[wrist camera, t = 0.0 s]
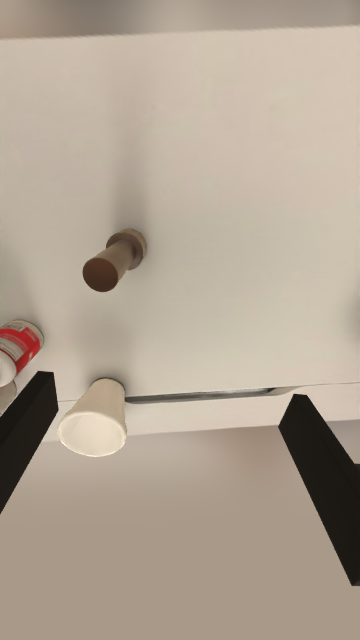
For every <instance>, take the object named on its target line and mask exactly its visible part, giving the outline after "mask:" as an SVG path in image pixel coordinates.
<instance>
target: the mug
mask: <svg viewBox="0 0 360 640" xmlns="http://www.w3.org/2000/svg"><path fill="white" fill-rule="evenodd" d="M15 394H16V387H15V384H14V382H13V381H11V382H10V383H8V384H7V385H4V386H2V387H0V414H1V412H2V411H3V410H4V409H5V408H6V407H7V405H8V404H9V403H10V402H11V401H12V400H13V398H14V397H15Z"/></svg>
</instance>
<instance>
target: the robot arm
mask: <svg viewBox="0 0 360 640" xmlns="http://www.w3.org/2000/svg"><path fill="white" fill-rule="evenodd" d="M58 410H59V409H58V402H57V395H56V387H55V380H54V373H53V372H45V371H38V372H37V373H36V374H35V375H34V377H33V378H32V379H31V380H30V381H29V383H28V384H27V385H26V386H25V388H24V389H23V390H22V391H21V393H20V394H19V395H18V396H17V397H16V399H15V400H14V401H13V402H12V404H11V405H10V406H9V407H8V408H7V410H6V411H5V412H4V413H3V415H2V416H1V417H0V514H1V512H2V510H3V509H4V507H5V505H6V503H7V501H8V500H9V498H10V496H11V494H12V492H13V491H14V489H15V487H16V485H17V483H18V482H19V480H20V478H21V476H22V475H23V473H24V471H25V469H26V467H27V465H28V464H29V462H30V460H31V459H32V456H33V455H34V453H35V451H36V450H37V448H38V446H39V444H40V443H41V441H42V439H43V437H44V435H45V434H46V432H47V430H48V428H49V426H50V425H51V423H52V421H53V419H54V418H55V416H56V414H57V412H58ZM278 428H279V430H280V432H281V434H282V436H283V439H284V441H285V443H286V445H287V447H288V449H289V452H290V454H291V456H292V458H293V460H294V462H295V464H296V467H297V468H298V471H299V473H300V475H301V477H302V479H303V482H304V484H305V486H306V488H307V490H308V493H309V495H310V497H311V499H312V501H313V503H314V505H315V507H316V510H317V512H318V514H319V516H320V518H321V521H322V523H323V525H324V527H325V529H326V531H327V533H328V535H329V538H330V540H331V542H332V544H333V546H334V549H335V551H336V553H337V555H338V557H339V559H340V561H341V564H342V566H343V568H344V570H345V572H346V574H347V577H348V579H349V581H350V583H351V585H352V586H360V464H354V463H353V461H352V460H351V458H350V457H349V455H348V454H347V453H346V451H345V450H344V448H343V447H342V445H341V444H340V442H339V441H338V439H337V438H336V437H335V435H334V434H333V432H332V431H331V429H330V428H329V427H328V425H327V424H326V422H325V421H324V419H323V418H322V416H321V415H320V413H319V412H318V411H317V409H316V408H315V406H314V405H313V403H312V402H311V400H310V399H309V398H308V396H307V395H302V394H294V395H293V397H292V399H291V401H290V403H289V405H288V407H287V409H286V411H285V414H284V416H283V418H282V420H281V422H280V424H279V426H278Z"/></svg>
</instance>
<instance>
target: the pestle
mask: <svg viewBox="0 0 360 640" xmlns="http://www.w3.org/2000/svg"><path fill="white" fill-rule="evenodd" d="M146 251H147V245H146V241H145V239H144V237H143V236H142V235H141V234H140V233H139V232H137V231H135V230H132V229H125V230H122V231H120V232H118V233H116V234H114V235H113V236H111V237H110V239H109V240H108V242H107V244H106V249H105V250H104V251H102V252H101V253H99V254H98V255H96V256H95V257H93V258H92V259H90V260H89V261H87V262H86V264H85V265H84V267H83V278H84V280H85V282H86V283H87V285H88V286H89V287H90V288H92V289H93V290H96V291H99V292H107V291H110V290H112V289H113V288H114V287H115V286H116V285H117V283H118V282H119V281H120V279H121V278H122V276H123V275H124V274H125V272H126V271H127V270H132V269H134V268H136V267H137V266H138V265H139V264H140V263H141V261H142V260H143V258H144V256H145V254H146Z"/></svg>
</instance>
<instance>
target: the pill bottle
mask: <svg viewBox="0 0 360 640" xmlns="http://www.w3.org/2000/svg"><path fill="white" fill-rule="evenodd" d="M42 346H43V336H42V334H41V332H40V331H39V330H38V329H37V328H36V327H35V326H34V325H32V324H31V323H28V322H26V321H20V320H16V321H11V322H9V323H7V324H5V325H4V326H2V327H1V328H0V387H2V386H4V385H7V384H8V383H10V382H11V381H12V380H13V379H14V378H15V377H16V376H17V375H18V373H19V372H20V371H21V370H22V369H23V368H24V367H25V366H26V365H27V364H28V362H29V361H30V360H31V359H32V358H33V357H34V356H35V355H36V354H37V353H38V352H39V350H40V349H41V348H42Z"/></svg>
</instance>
